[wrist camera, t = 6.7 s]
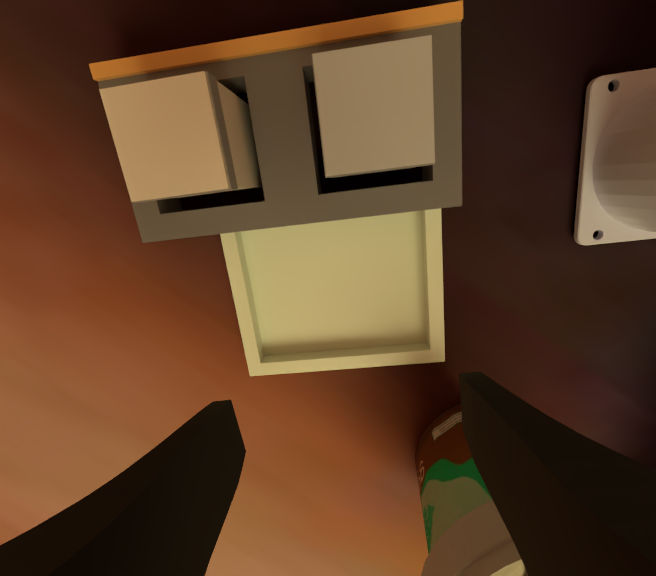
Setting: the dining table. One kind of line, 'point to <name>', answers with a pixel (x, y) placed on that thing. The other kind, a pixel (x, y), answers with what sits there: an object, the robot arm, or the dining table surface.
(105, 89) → the plug
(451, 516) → the food container
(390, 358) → the tray
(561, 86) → the dining table surface
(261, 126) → the grey cubby shelf
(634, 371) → the dining table surface
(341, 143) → the beige block
